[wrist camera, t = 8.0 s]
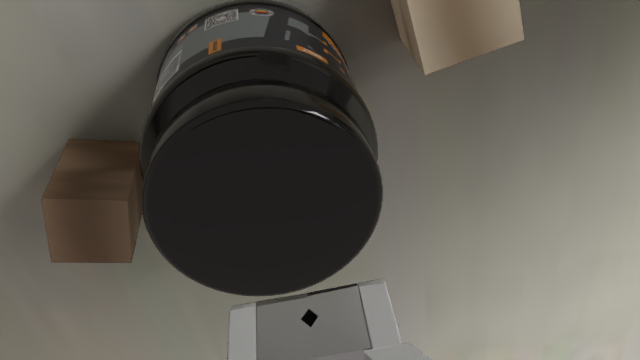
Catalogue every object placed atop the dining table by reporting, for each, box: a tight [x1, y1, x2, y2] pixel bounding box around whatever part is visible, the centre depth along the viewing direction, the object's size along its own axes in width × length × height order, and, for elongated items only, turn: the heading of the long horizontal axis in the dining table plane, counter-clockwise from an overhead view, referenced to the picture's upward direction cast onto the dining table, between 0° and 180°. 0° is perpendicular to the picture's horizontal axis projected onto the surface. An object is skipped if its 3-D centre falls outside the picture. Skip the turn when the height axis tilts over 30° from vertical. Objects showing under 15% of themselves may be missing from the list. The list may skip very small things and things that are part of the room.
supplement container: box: [139, 0, 383, 296], centre depth 28 cm, size 10×10×12 cm
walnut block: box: [41, 139, 143, 263], centre depth 33 cm, size 4×4×6 cm
